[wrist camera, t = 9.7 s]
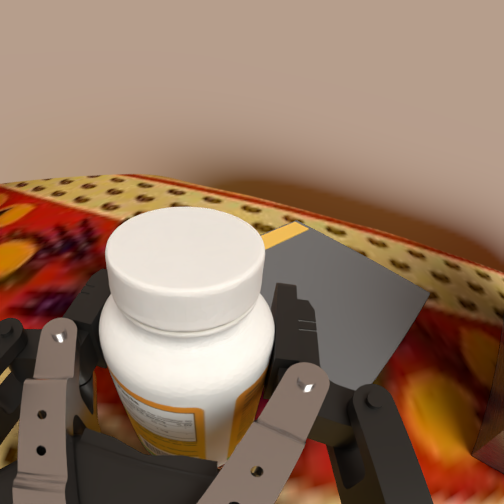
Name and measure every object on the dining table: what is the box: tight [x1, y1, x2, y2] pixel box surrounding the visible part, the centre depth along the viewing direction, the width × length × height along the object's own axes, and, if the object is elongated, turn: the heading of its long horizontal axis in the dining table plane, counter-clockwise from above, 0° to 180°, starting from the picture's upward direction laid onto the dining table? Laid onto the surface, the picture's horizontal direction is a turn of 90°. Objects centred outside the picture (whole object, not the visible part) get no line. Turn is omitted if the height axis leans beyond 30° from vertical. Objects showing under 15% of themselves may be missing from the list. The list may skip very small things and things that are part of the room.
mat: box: [260, 220, 430, 391], centre depth 21 cm, size 14×14×1 cm
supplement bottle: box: [99, 207, 275, 467], centre depth 10 cm, size 5×5×10 cm
